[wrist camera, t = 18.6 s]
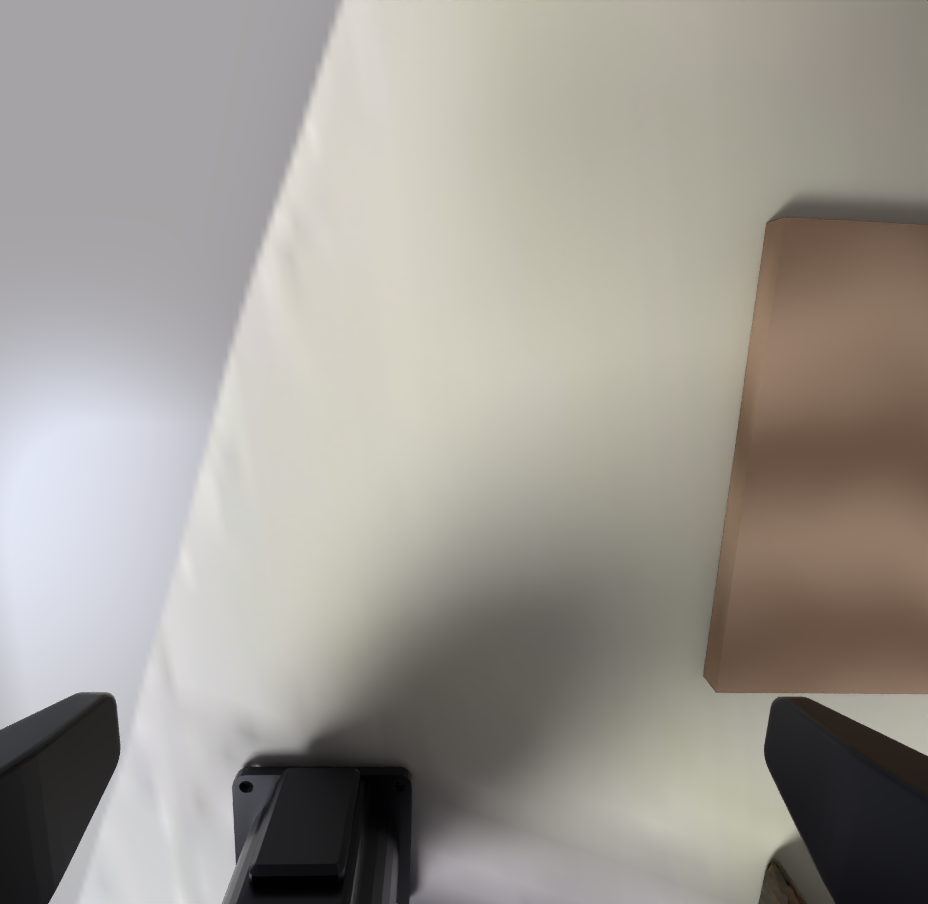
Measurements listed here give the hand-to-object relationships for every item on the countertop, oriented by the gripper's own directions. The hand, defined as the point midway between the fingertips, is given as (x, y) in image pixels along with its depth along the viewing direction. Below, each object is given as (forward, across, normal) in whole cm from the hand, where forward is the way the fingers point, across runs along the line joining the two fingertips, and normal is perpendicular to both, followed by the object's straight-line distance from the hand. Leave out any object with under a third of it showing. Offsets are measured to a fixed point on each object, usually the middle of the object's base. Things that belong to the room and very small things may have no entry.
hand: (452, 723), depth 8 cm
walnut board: (+12, -17, -1) cm, 21 cm away
